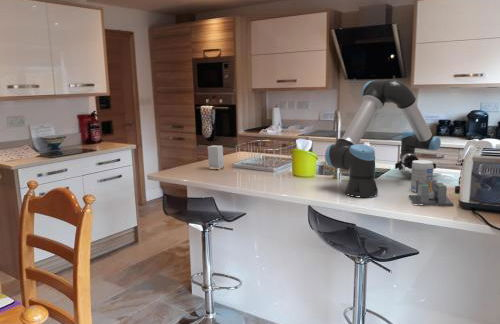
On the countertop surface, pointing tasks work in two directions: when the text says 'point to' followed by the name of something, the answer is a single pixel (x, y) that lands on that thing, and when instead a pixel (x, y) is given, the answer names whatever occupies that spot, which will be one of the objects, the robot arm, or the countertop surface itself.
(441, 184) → the grey notched block
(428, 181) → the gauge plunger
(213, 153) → the skincare box
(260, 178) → the countertop surface
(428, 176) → the supplement tub
